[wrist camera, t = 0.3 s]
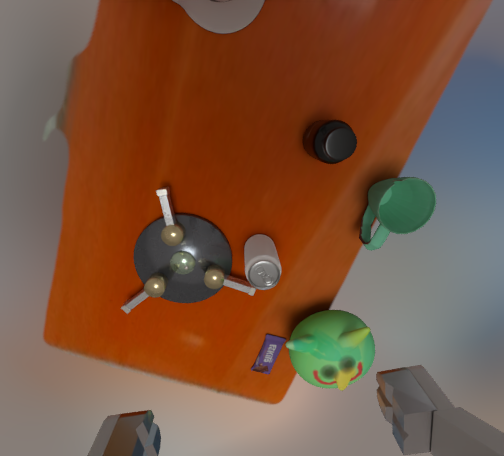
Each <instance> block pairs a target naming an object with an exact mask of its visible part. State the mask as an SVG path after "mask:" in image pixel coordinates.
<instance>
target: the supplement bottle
mask: <svg viewBox="0 0 504 456" xmlns="http://www.w3.org/2000/svg"><path fill="white" fill-rule="evenodd" d="M356 144H357V139H356V136H355V134H354V132H353V130H352V128H351V127H350V126H349V125H348V124H347V123H345V122H343V121H340V120H320V121H316V122H314V123H312V124H311V125H310V126H309V127H308V128H307V129H306V131H305V133H304V136H303V146H304V149H305V151H306V152H307V153H308V154H309V155H310V156H312V157H313V158H315V159H317V160H319V161H321V162H324V163H327V164H336V163H339V162H341V161H343V160H345V159H347V158H348V157H350V156H351V155H352V153H354V151H355V149H356V147H357V146H356Z"/></svg>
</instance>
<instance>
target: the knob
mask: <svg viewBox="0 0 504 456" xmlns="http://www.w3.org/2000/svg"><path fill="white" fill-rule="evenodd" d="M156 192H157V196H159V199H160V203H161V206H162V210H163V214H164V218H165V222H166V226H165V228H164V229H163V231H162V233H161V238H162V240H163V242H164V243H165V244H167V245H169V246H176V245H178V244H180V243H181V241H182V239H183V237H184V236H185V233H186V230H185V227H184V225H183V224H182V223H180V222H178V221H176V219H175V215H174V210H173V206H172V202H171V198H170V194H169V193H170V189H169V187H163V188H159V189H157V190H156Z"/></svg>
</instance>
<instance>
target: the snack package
mask: <svg viewBox="0 0 504 456" xmlns="http://www.w3.org/2000/svg"><path fill="white" fill-rule="evenodd" d="M285 340H286V339H284V338H280V337H276V336H272V335H268V334H267V335H266V339H265V341H264V344H263V346H262V348H261V350H260V353H259V355H258V357H257V359H256V362H255V364H254V366H253V367H252V368H251V370H253V371H256V372H262V373H265V374H270V371H271V369H272V367H273V364H274V362H275V360H276V358H277V356H278V354H279V352H280V350H281V347H282V345H283V343H284V342H285Z"/></svg>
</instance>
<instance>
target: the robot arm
mask: <svg viewBox="0 0 504 456" xmlns="http://www.w3.org/2000/svg"><path fill="white" fill-rule="evenodd" d="M172 1H174V2H176V3H178V4H180V5H181V6H182V7H183V9H184V10H185V11H186V12H187V14H188V15H189V16H190V17H191V18H192V19H193V20H194V21H195V22H196V23H197V24H198V25H200V26H201V27H203V28H204V29H206V30H209V31H211V32H215V33H223V34H224V33H233V32H236V31H239V30H241V29H243V28H244V27H246V26H247V25H248V24H250V23H251V22H252V21H253V20H254V19H255V17H256V16H257V15H258V13H259V12H260V10H261V8H262V6H263V3H264V1H265V0H172ZM376 378H377V379H376V380H377V382H378V384H379V387H378V389H377V398H378V402H379V406H380V408H381V411H382V413H383V415H384V417H385V419H386V420H387V421H388V422H389V423H391V424H392V426H393V435H394V437H395V439H396V441H397V443H398V445H399V447H400V449H401V451H402V453H403V455H408V454H417V453H424V452H431V454H432V455H433V456H504V433H503V432H501V431H499V430H498V429H496V428H494V427H493V426H491V425H489V424H488V423H486V422H484V421H483V420H481V419H479V418H477V417H476V416H474V415H472V414H471V413H469V412H467V411H466V410H464V409H462V408H460V407H458V408H455V407H454V405H453V404H452V403H451V402H450V400H449V399H448V398H447V396H446V395H445V394H444V393H443V391H442V390H441V389H440V388H439V386H438V385H437V384H436V382H435V381H434V380H433V378H432V377H431V376H430V375H429V373H428V372H427V371H426V370H425V368H424V367H423V366H421V365H418V366H411V367H406V368H405V367H404V368H398V369H392V370H387V371H381V372H377V375H376ZM153 419H154V415H153V413H152V411H151V410H147V411H139V412H132V413H124V414H118V415H111V416H108V417H107V418H106V419H105V420H104V422H103V424H102V426H101V428H100V430H99V432H98V434H97V437H96V439H95V441H94V443H93V445H92V447H91V450H90V451H89V453H88V456H158V454H159V450H160V442H161V436H160V430H159V427H158V425H157V424H155V423H153Z"/></svg>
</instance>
